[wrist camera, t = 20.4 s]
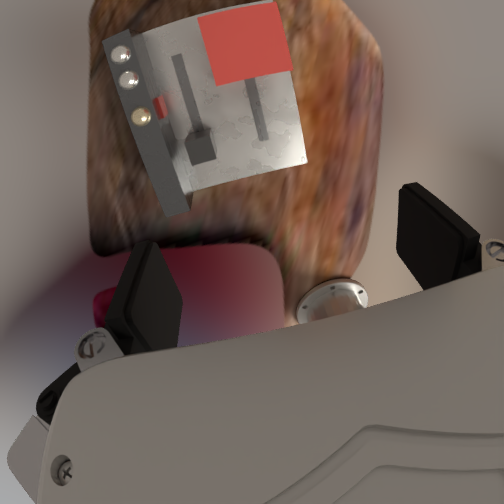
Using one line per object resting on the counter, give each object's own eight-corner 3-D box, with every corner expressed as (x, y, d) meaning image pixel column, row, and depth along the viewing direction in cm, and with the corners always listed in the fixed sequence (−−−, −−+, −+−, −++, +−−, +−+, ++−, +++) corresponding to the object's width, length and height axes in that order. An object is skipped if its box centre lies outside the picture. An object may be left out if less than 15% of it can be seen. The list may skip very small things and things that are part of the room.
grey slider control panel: (300, 154, 33) (322, 182, 26) (175, 186, 34) (164, 222, 27) (267, 5, 22) (283, -14, 16) (127, 44, 23) (97, 40, 16)
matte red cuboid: (279, 69, 24) (293, 70, 19) (217, 83, 25) (216, 86, 20) (265, 14, 21) (276, 1, 16) (202, 27, 21) (196, 17, 16)
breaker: (217, 149, 29) (216, 158, 26) (194, 156, 29) (191, 166, 26) (210, 128, 27) (209, 134, 25) (187, 134, 27) (184, 142, 25)
